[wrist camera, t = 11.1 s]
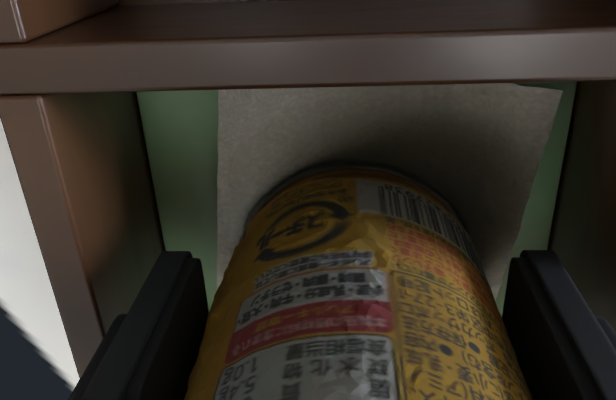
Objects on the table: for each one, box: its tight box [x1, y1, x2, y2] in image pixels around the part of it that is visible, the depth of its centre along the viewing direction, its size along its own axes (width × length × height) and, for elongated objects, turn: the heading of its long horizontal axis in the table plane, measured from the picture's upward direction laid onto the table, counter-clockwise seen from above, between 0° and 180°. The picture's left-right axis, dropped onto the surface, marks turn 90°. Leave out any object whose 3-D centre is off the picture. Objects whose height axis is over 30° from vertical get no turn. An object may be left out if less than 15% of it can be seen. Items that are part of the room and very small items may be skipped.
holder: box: [0, 0, 616, 378], centre depth 10 cm, size 22×11×4 cm, turn 2°
